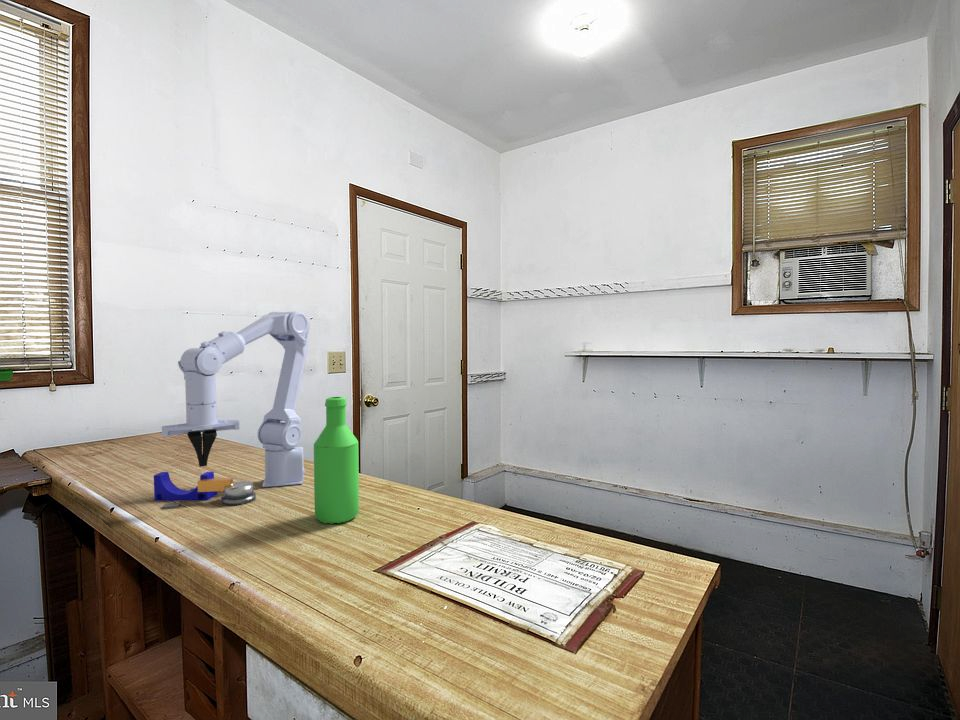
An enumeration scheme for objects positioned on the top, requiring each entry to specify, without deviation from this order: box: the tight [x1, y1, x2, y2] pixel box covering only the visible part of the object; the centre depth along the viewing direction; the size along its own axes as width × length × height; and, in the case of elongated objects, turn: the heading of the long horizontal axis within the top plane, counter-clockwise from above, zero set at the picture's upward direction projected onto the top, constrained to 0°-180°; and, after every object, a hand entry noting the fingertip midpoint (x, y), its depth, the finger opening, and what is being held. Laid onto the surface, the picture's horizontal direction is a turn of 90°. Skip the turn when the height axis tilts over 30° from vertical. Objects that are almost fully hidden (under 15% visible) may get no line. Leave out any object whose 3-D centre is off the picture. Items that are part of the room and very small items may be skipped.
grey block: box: [161, 502, 181, 510], centre depth 106 cm, size 3×2×1 cm, turn 109°
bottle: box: [313, 396, 360, 524], centre depth 99 cm, size 9×9×25 cm
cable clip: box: [153, 471, 219, 502], centre depth 112 cm, size 12×4×6 cm, turn 91°
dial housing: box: [221, 491, 257, 507], centre depth 110 cm, size 7×7×1 cm
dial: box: [196, 477, 254, 499], centre depth 110 cm, size 12×6×4 cm, turn 97°
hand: (202, 465), depth 105 cm, fingers closed
